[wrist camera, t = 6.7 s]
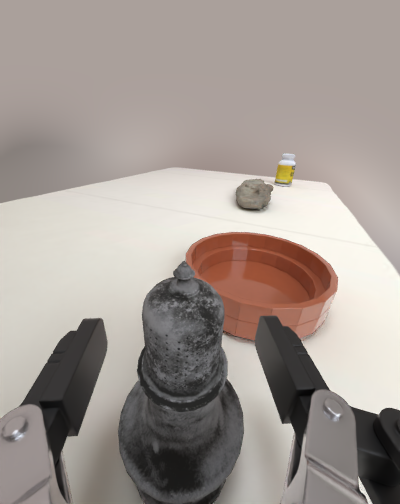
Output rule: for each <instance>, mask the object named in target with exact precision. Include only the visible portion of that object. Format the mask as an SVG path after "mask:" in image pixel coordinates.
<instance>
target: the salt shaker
mask: <svg viewBox="0 0 400 504" xmlns="http://www.w3.org/2000/svg"><path fill="white" fill-rule="evenodd" d="M173 274H174V276H175V277H173V278H169V279H166V280H163V281H161V282H160V283H158V284H157V285H156V286H155V287H154V288H153V289H152V290H151V291H150V292H149V293H148V294H147V296H146V298H145V300H144V304H143V311H142V321H143V330H144V340H145V347H144V348H143V350H142V352H141V355H140V357H139V360H138V369H137V373H138V378H139V381H138V382H137V383H136V384H135V386H134V387H133V389H132V390H131V392H130V393H129V395H128V396H127V399H126V401H125V404H124V406H123V409H122V411H121V416H120V422H119V429H118V437H119V449H120V454H121V457H122V460H123V462H124V465H125V468H126V471H127V473H128V474H129V475H130V477H131V478H132V479H133V481H134V482H135V483H136V485H137V488H138V491H139V493H140V496H141V498H142V499H143V500H144V502H145V503H146V504H212V503H213V502H214V501H215V500H216V498H217V497H218V496H219V494H220V492H221V489H222V487H223V485H224V483H225V481H226V478H227V477H228V475H229V474H230V473H231V471H232V469H233V467H234V465H235V463H236V460H237V458H238V456H239V454H240V450H241V445H242V439H243V434H244V427H243V412H242V409H241V405H240V402H239V398H238V396H237V394H236V392H235V391H234V389H233V387H232V385H231V383H230V382H229V381H228V380H227V379H226V377H227V359H226V355H225V352H224V350H223V349H222V347H221V341H222V333H223V325H224V311H225V310H224V304H223V301H222V298H221V296H220V295H219V294H218V293H217V291H216V290H215V289H214V288H213V287H212V286H211V285H210V284H208V283H207V282H205V281H203V280H201V279H198V278H194V276H195V271H194V270H193V269H191V266H189V265H188V264H187V262H185V261H183V262H182V263H181V264H180V265H179V266H178V268H177V269H175V271H174V272H173Z"/></svg>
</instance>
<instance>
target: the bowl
mask: <svg viewBox="0 0 400 504" xmlns="http://www.w3.org/2000/svg"><path fill="white" fill-rule="evenodd" d="M186 262H187V264H188V265H189V266H191V269H193V270H194V271H195V276H194V278H198V279H201V280H203V281H205V282H207V283H208V284H210V285H211V286H212V287H213V288H214V289H215V290H216V291H217V293H218V294H219V295H220V296H221V298H222V301H223V304H224V310H225V311H224V325H223V330H224V331H226V332H228V333H230V334H232V335H234V336H237V337H242V338H246V339H251V340H255V336H256V331H257V327H258V323H259V318H260V316H272V315H276V316H277V317H278V318H279V320H280V322H281V324H282V325H283V326H288V327H289V328H291V329H292V330H293V331H294V332H295V333H296V334H297V335H298V337H299V338H302V337H305V336H307V335H310V334H313V333H314V332H315V331H316V330H317V329H318V327H319V326H320V325H321V324H322V323H323V322H324V320H325V318H326V316H327V313H328V311H329V308H330V306H331V304H332V301H333V299H334V297H335V294H336V292H337V285H338V277H337V275H336V273H335V272H334V270H333V268H332V266H331V265H330V264H329V263H328V262H327V261H325V260H324V259H323V258H322V257H321V256H320V255H318V254H317V253H315V252H313V251H311V250H309V249H308V248H306V247H304V246H302V245H299V244H297V243H294V242H291V241H289V240H286V239H282V238H278V237H274V236H270V235H265V234H258V233H250V232H229V233H221V234H215V235H211V236H208V237H205V238H202V239H200V240H199V241H197V242H195V243H194V244H192V245H191V247H190V248H189V250H188V251H187V253H186Z"/></svg>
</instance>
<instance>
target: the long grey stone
mask: <svg viewBox="0 0 400 504" xmlns="http://www.w3.org/2000/svg"><path fill="white" fill-rule="evenodd" d="M271 191H273V186H272V185H270V184H265V183H264V181H262V180H261V179H253V180H245V181H244V182H243V183H242V184H241V186H239V187H238V188H237V190H236V197H237V202H238V204H239V205H241V206H242V207H244V208H256V209H257V208H259V209H261V208H263V207H264V206H267V205H268V202H269V201H270V199H271V196H270V195H271Z"/></svg>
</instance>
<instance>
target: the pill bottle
mask: <svg viewBox="0 0 400 504" xmlns="http://www.w3.org/2000/svg"><path fill="white" fill-rule="evenodd" d="M282 158H283V159H282V160H281V161H280V162H279V163H278V168H277V174H276V179H275V184H276V185H279V186H290V185H291V183H292V179H293V174H294V170H295V165H296V163H295V162H294V158H295V154H283V155H282Z"/></svg>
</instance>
